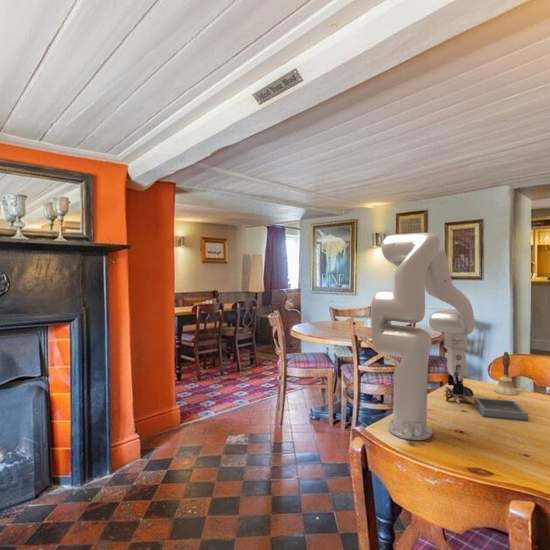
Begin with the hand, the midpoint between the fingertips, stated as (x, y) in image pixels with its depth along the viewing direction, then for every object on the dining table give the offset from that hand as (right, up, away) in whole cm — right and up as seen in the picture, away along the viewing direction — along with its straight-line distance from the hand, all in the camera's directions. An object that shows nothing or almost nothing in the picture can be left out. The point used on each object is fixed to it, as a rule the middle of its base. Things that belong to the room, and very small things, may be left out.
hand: (455, 389), depth 140 cm
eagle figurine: (+1, -5, 0) cm, 5 cm away
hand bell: (+25, -5, +12) cm, 28 cm away
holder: (+11, -5, -9) cm, 15 cm away
